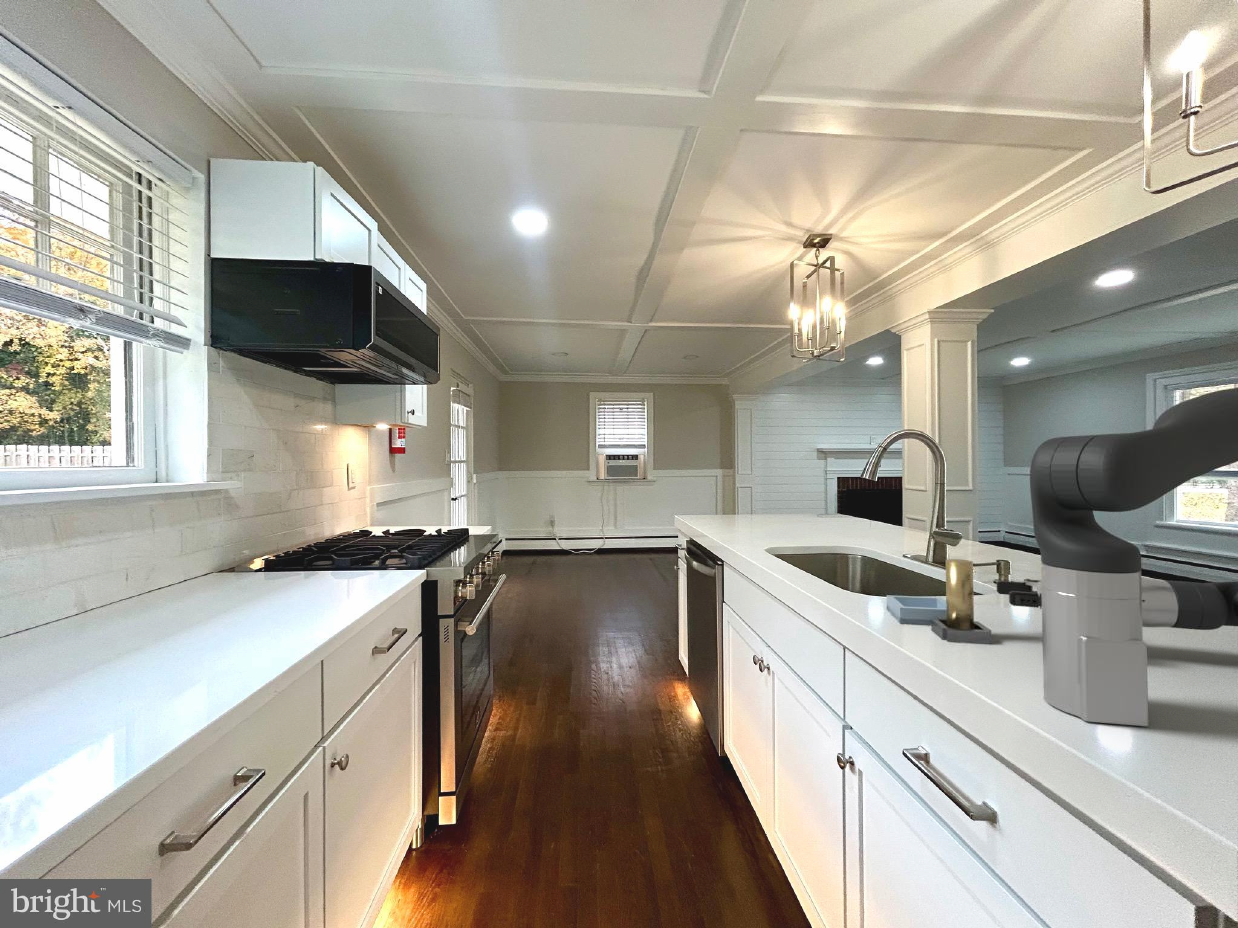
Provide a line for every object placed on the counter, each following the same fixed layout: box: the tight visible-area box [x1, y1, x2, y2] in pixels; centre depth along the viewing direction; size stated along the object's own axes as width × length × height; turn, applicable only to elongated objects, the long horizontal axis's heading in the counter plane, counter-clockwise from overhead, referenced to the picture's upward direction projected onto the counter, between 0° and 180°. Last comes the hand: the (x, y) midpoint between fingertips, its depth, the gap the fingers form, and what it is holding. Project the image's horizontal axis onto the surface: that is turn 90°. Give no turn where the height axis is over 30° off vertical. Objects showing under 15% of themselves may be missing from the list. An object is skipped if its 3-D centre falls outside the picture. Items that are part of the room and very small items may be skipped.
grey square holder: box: [930, 618, 992, 645], centre depth 93 cm, size 7×7×2 cm
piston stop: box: [945, 558, 975, 629], centre depth 93 cm, size 4×4×13 cm
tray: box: [886, 594, 947, 626], centre depth 104 cm, size 10×10×3 cm
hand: (1003, 592), depth 90 cm, fingers open, 8 cm apart
